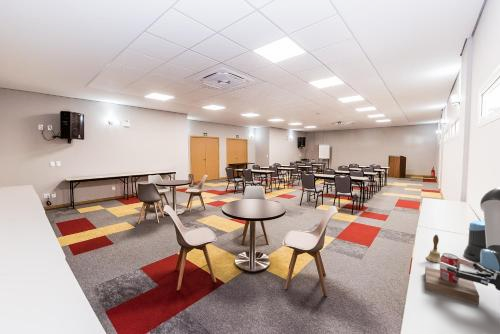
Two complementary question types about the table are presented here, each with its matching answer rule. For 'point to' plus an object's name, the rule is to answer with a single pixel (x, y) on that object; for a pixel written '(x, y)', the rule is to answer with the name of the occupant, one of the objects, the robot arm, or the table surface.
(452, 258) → the soda can
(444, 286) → the podium
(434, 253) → the hand bell
